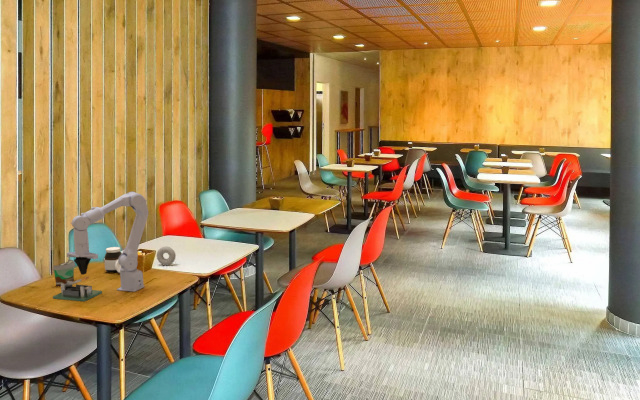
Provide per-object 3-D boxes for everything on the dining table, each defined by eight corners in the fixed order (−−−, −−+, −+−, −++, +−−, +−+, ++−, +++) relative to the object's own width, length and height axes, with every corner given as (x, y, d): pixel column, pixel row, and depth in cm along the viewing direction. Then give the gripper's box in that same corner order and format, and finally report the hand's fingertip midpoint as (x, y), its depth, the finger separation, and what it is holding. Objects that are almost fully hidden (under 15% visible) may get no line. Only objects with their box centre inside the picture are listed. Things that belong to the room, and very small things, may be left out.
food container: (66, 287, 274) (64, 266, 273) (54, 286, 276) (52, 265, 274) (81, 280, 286) (80, 259, 285) (70, 279, 287) (68, 259, 286)
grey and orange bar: (64, 287, 262) (63, 284, 262) (67, 285, 264) (66, 283, 264) (86, 279, 258) (85, 277, 258) (89, 278, 260) (88, 275, 260)
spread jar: (110, 268, 307) (109, 246, 305) (132, 268, 307) (131, 246, 305) (101, 274, 295) (99, 251, 293) (124, 274, 295) (122, 251, 293)
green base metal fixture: (53, 298, 258) (52, 286, 258) (71, 290, 270) (70, 278, 269) (84, 301, 254) (83, 288, 253) (102, 293, 265) (101, 280, 265)
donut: (176, 264, 313) (176, 245, 312) (174, 266, 310) (174, 247, 309) (158, 264, 314) (157, 245, 313) (156, 265, 311) (155, 247, 309)
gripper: (61, 244, 256) (63, 275, 258) (89, 246, 252) (91, 277, 254) (72, 241, 263) (74, 271, 265) (100, 242, 259) (102, 273, 261)
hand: (83, 274), depth 260 cm, fingers closed
